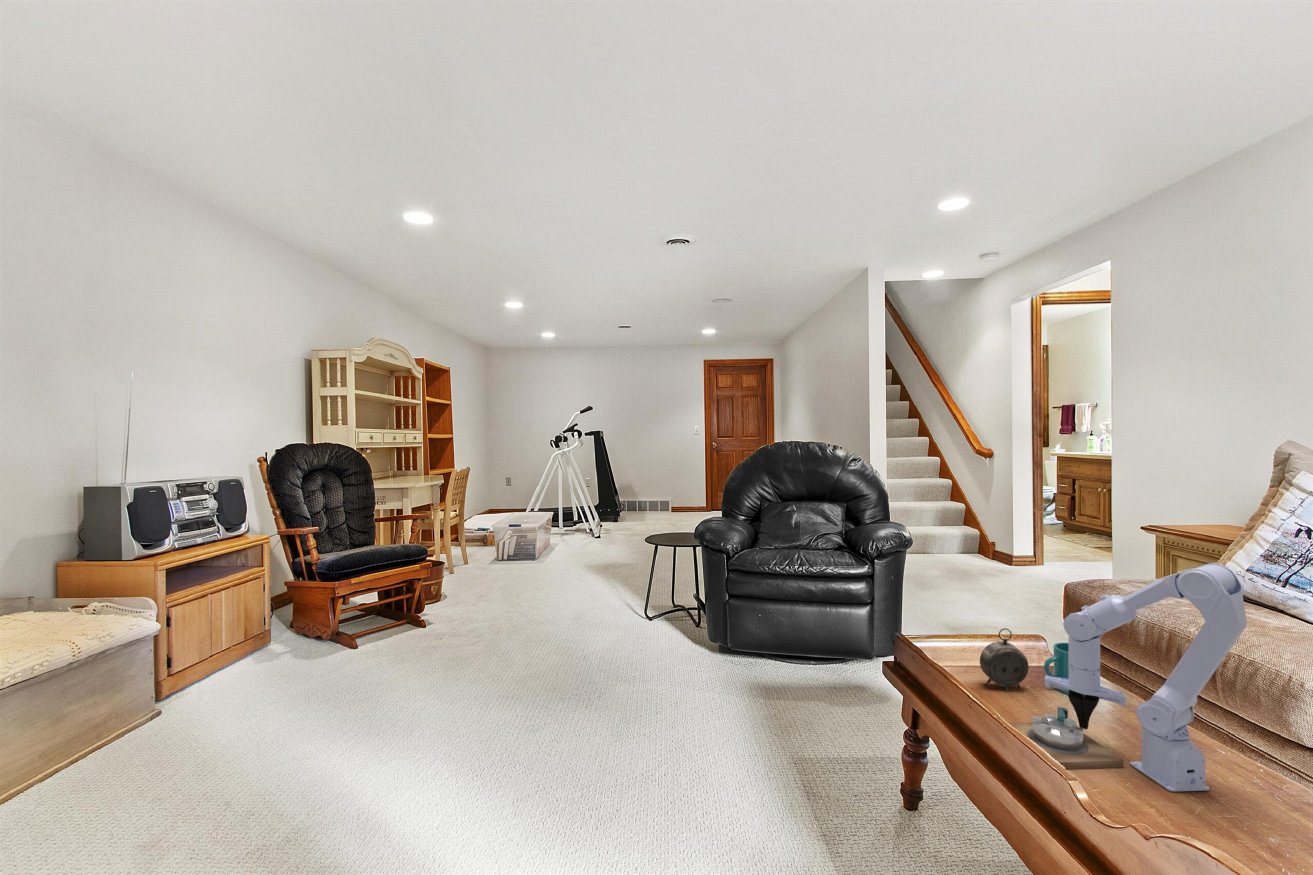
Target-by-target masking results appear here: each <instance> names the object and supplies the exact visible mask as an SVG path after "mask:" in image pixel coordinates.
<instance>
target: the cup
mask: <svg viewBox="0 0 1313 875" xmlns="http://www.w3.org/2000/svg"><path fill="white" fill-rule="evenodd" d="M1068 647H1069V642H1057V643H1054V644H1053V656H1051V657H1049V658H1047V659H1046V660H1045V661H1044V664H1043V670H1044V673H1045V674H1046V675H1047V676H1051V677H1058V678H1065V679H1068ZM1052 663H1053V674H1052V673H1051V672H1050V665H1051V664H1052ZM1055 689H1056V691H1057V690H1058V691H1059V692H1061V693H1062V694H1066V695H1067V696H1068V695H1069V691H1067V690H1063V689H1058V688H1055ZM1084 697H1085V696H1084Z"/></svg>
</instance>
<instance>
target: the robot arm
mask: <svg viewBox="0 0 1313 875" xmlns="http://www.w3.org/2000/svg"><path fill="white" fill-rule="evenodd" d="M1244 592H1245V587H1244V585H1243V584H1242V581H1241V580H1240V579H1239V577H1238V576H1237V575H1236V573H1235V572H1234V571H1233V570H1232V569H1231V568H1229V567H1228V566H1226V565H1223V564H1220V563H1214V562H1213V563H1211V562H1210V563H1205V564H1202V565H1200V566H1198V567H1195V568H1194V567H1193V568H1188V569H1184V570H1183V571H1179V572H1176V573H1173V574H1169V575H1166V576H1163V577H1161V578H1158V579H1156V580H1154V581H1152V582H1151V583H1149V584H1147V585H1145V586H1143V587H1141V588H1139V589H1137V590H1136V591H1134V592H1132V593H1130V594H1128V595H1126V596H1121V595H1118V594H1117V595H1116V594H1112V595H1109V594H1103V595H1102V596H1100V597H1099V599H1100V600H1099V601H1097V602H1095V603H1093V604H1091V605H1087V604H1086V605H1084V606H1082V607H1081V611H1078V612H1073V613H1072V612H1071V613H1069V615H1067V616H1066V617H1065V618H1064V620H1063V628H1064V631H1065V633H1066V634H1067V635H1068V643H1069V647H1068V679H1065V678H1058V677H1051V676H1048V675H1047V674H1046V675H1045V676H1044V687H1045V688H1046V687H1047V688H1051V687H1052V688H1055V689H1056V688H1058V689H1063V690H1067V691H1069V695H1068V694H1067V697H1068V700H1069V703H1070V704H1071V705H1072V707H1073V709H1074V711H1075V714H1076V718H1077V721H1078V724H1079V725H1078V726H1079V728H1083V730H1088V729H1089V723H1090V718H1091V716H1092V715H1093V714H1092V713H1094V710H1095V709H1096V707H1097V706H1098V704H1099V701H1100V700H1103V701H1108V702H1112V703H1116V704H1118V705H1119V706H1124V707H1126V704H1127V693H1122V692H1120V691H1116V690H1113V689H1110V688H1107V687H1104V686H1101V636H1103V635H1104V634H1105V633H1108V632H1110V631H1113V630H1114V629H1116V628H1118V627H1121V626H1123V625H1126V624H1128V623H1131V622H1133V621H1134V620H1135V619H1136V612H1137V611H1138V610H1141V609H1143V608H1146V607H1148V606H1151V605H1153V604H1155V603H1158V602H1160V601H1162V600H1165V599H1168V598H1175V599H1180V600H1181V599H1184V598H1186V599H1187V601H1189V602H1190V603H1191V604H1192V605H1193V606H1194V607H1195V608H1196V609H1197V610H1198V611H1199V613H1200V615H1201V616H1202V617H1203V619H1204V621H1205V622H1204V623H1203V625H1202V626H1201V628H1200V629H1199V631H1198V632H1197V634H1196V635H1195V637H1194V639H1193V640H1192V641H1191V643H1190V645H1189V646H1188V647H1187V649H1186V650H1185V652H1184V653H1183V655H1182V657H1181V658H1180V659H1179V661H1178V663H1177V664H1176V665H1175V667H1174V668H1173V670H1172V672H1171V673H1170V674H1169V676H1168V678H1167V679H1166V680H1165V682H1164V683H1163V685H1162V686H1160V688H1158V689H1157V691H1155V693H1154V694H1153V695H1152V696H1151V697H1150V698H1149V700H1147V701H1146V700H1145V701H1143V702H1140V703H1139V704H1138V705H1137V708H1136V711H1135V713H1136V715H1135V716H1136V718H1137V721H1138V722H1139V724H1140V726H1141V760H1140V761H1130V762H1129V765H1130V766H1132V767H1133V768H1135V769H1136V770H1138V771H1140V772H1141V773H1142V774H1144V775H1145V776H1147V777H1148V778H1149V779H1151V780H1153V781H1154V782H1156V783H1157V784H1159V785H1160V786H1162V787H1163V788H1164V789H1166V790H1168V791H1169V792H1198V791H1200V792H1201V791H1203V792H1204V791H1210V787H1209V786H1208V785H1206V756H1205V755H1204V752H1203V751H1202V750H1201V749H1200V748H1198V747H1197V746H1196V745H1195V744H1194V742H1192V740H1191V738H1190V732H1189V729H1188V727H1187V726H1188V725H1189V724H1190V723H1191V722H1193V720H1194V718H1195V711H1194V710H1195V706H1196V704H1197V703H1198V697H1199V695H1200V693H1201V692H1202V690H1203V689H1204V688H1205V686H1206V684H1207V683H1208V682H1209V680H1210V679H1211V678H1212V676H1213V675H1214V674H1215V672H1216V670H1217V669H1218V667H1219V666H1220V664H1221V663H1222V662H1223V661H1224V659H1225V657H1226V656H1227V655H1228V653H1229V652H1230V651H1231V649H1232V647H1233V646H1234V645H1235V643H1237V642H1236V641H1237V640H1238V639H1239V637H1240V636H1241V635H1242V633H1243V632H1244V630H1245V629H1246V628H1247V625H1248V621H1247V615H1246V614H1247V613H1246V608H1245V603H1244V602H1245V601H1244ZM1084 696H1085V697H1084Z"/></svg>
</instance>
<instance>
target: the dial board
mask: <svg viewBox="0 0 1313 875" xmlns="http://www.w3.org/2000/svg"><path fill="white" fill-rule="evenodd" d="M1009 723H1010V724H1011V725H1013V726H1014V727H1015V728H1017V729H1018V730H1020V731H1021V732H1023V733H1025V734H1026V735H1027V736H1028V737H1029V738H1030V739H1032V740H1033V741H1034V742H1036V743H1037V744H1038V745H1039V746H1040V747H1042V748H1043V749H1045V750H1046V751H1047V752H1048V753H1049V754H1050V755H1051V756H1052V757H1053V758H1054V759H1055V760H1057V761H1058V762H1059V763H1060V764H1061V765H1063V766H1064V767H1065V768H1067V769H1066V770H1081V769H1082V770H1086V769H1089V770H1090V769H1118V768H1119V769H1120V768H1124V759H1122V758H1121V757H1120V756H1118V755H1116V754H1115V753H1113V752H1112V751H1110V750H1109V749H1107V748H1106V747H1104V746H1103V745H1102V744H1101V743H1098V742H1097V741H1096V740H1094V739H1093V738H1091V737H1090V736H1088V735H1087V734H1085V733H1084V732H1083V746H1082V748H1080V749H1076V750H1068V749H1061V748H1057V747H1053V746H1050V745H1047V744H1045V743H1043V742H1041V741H1040V740H1038V739H1037V738H1036V737H1035V736H1034V734H1033V722H1009Z"/></svg>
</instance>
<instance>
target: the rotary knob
mask: <svg viewBox="0 0 1313 875" xmlns="http://www.w3.org/2000/svg"><path fill="white" fill-rule="evenodd" d="M1056 713H1057V714H1056V715H1057V717H1056V716H1055V714H1053V713H1049V712H1044V717H1043V716H1039V715H1036V714H1033V716H1032V723H1033V734H1034V736H1035V737H1036V738H1037V739H1038V740H1040V741H1041V742H1043V743H1045V744H1047V745H1050V746H1053V747H1057V748H1061V749H1068V750H1076V749H1080V748H1082V746H1083V733H1084V729H1083V728H1080V727H1078V726H1077V721H1076V720H1075V719H1074V720H1073V719H1072V718H1069V709H1068V708H1065V707H1061V706H1058V707H1057V708H1056Z"/></svg>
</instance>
